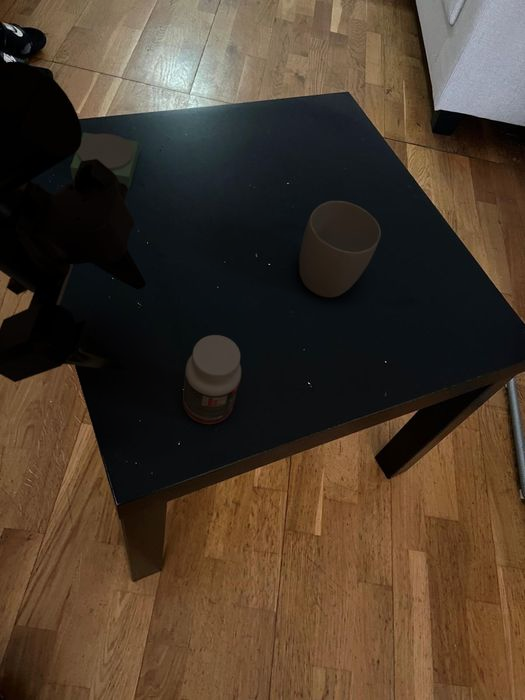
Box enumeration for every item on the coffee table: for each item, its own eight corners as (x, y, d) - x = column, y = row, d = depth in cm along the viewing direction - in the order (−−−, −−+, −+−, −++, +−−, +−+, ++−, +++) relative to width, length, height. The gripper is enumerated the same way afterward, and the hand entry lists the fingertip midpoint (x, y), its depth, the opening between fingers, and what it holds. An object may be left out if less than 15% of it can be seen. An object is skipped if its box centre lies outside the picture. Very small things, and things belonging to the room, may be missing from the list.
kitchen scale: (70, 179, 76) (68, 163, 73) (83, 144, 80) (81, 128, 78) (129, 189, 77) (128, 173, 74) (139, 154, 81) (138, 137, 79)
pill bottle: (237, 423, 59) (250, 377, 51) (185, 428, 58) (191, 383, 50) (228, 378, 62) (240, 328, 54) (179, 382, 61) (183, 332, 53)
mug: (344, 315, 70) (369, 264, 62) (282, 287, 71) (298, 233, 63) (371, 255, 78) (397, 201, 69) (314, 230, 78) (333, 174, 70)
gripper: (11, 268, 29) (188, 395, 40) (92, 81, 40) (215, 222, 50) (-100, 324, 34) (84, 424, 45) (-2, 145, 45) (128, 261, 56)
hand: (132, 325), depth 49 cm, fingers open, 9 cm apart
